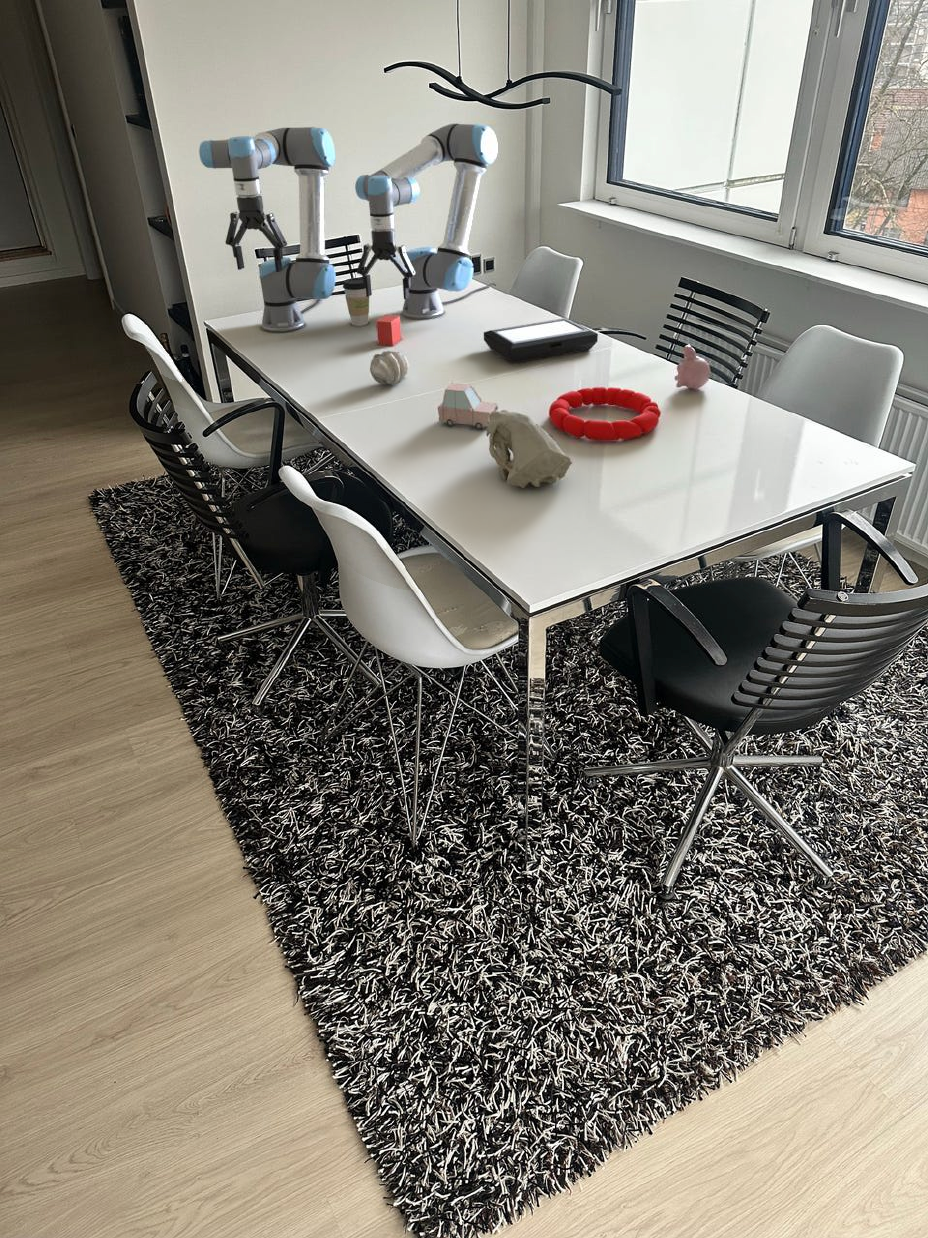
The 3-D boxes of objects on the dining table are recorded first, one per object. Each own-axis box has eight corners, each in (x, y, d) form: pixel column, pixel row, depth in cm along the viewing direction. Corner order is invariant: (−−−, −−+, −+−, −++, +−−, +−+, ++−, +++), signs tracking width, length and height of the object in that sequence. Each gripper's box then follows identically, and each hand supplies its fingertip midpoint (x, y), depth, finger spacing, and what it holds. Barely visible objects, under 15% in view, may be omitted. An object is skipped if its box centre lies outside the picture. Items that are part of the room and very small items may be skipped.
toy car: (488, 432, 240) (488, 396, 234) (436, 426, 244) (434, 390, 239) (499, 419, 247) (499, 384, 241) (448, 413, 252) (447, 379, 246)
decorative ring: (589, 435, 224) (684, 402, 234) (527, 398, 247) (617, 369, 256) (589, 461, 229) (683, 427, 238) (529, 422, 251) (617, 393, 260)
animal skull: (496, 517, 219) (521, 479, 201) (463, 429, 225) (484, 384, 207) (557, 503, 225) (586, 465, 206) (523, 417, 231) (549, 373, 212)
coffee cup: (372, 326, 323) (368, 283, 314) (345, 327, 323) (340, 284, 315) (374, 318, 331) (371, 276, 322) (348, 319, 331) (344, 277, 323)
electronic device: (510, 346, 280) (483, 329, 295) (510, 365, 283) (483, 348, 299) (598, 331, 290) (567, 315, 305) (597, 350, 294) (567, 334, 309)
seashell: (362, 383, 274) (359, 351, 268) (406, 374, 280) (403, 342, 274) (376, 393, 267) (373, 360, 261) (420, 383, 272) (418, 351, 267)
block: (378, 344, 306) (376, 320, 301) (387, 337, 312) (385, 314, 307) (392, 345, 304) (391, 322, 300) (401, 339, 310) (399, 315, 306)
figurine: (665, 387, 264) (669, 347, 257) (693, 380, 268) (698, 340, 261) (686, 396, 257) (690, 355, 250) (714, 388, 262) (720, 348, 255)
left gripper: (206, 196, 266) (219, 270, 278) (279, 198, 259) (289, 274, 271) (219, 192, 272) (231, 264, 284) (292, 194, 265) (301, 268, 277)
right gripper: (342, 229, 288) (349, 297, 300) (414, 233, 281) (418, 302, 293) (352, 225, 294) (358, 291, 306) (422, 228, 287) (426, 296, 299)
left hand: (260, 269), depth 278 cm, fingers open, 13 cm apart
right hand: (387, 296), depth 299 cm, fingers open, 13 cm apart
